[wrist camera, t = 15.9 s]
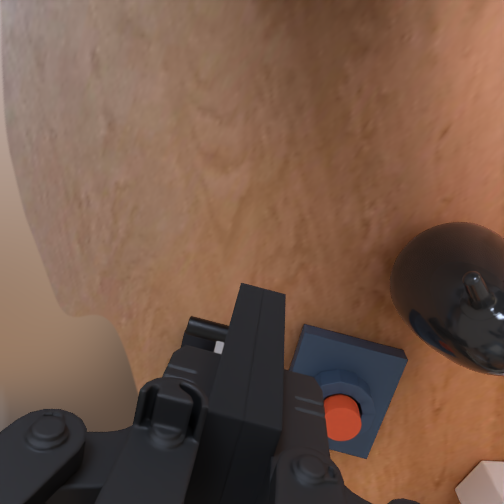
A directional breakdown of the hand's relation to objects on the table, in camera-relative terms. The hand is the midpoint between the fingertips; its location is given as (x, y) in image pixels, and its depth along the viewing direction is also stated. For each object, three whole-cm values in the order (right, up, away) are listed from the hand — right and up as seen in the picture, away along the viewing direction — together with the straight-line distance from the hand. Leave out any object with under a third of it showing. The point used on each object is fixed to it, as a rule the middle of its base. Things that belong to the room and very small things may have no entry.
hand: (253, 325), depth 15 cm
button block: (+8, -11, +31) cm, 34 cm away
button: (+8, -12, +27) cm, 31 cm away
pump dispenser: (+17, +1, +26) cm, 31 cm away
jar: (+26, -23, +33) cm, 48 cm away
